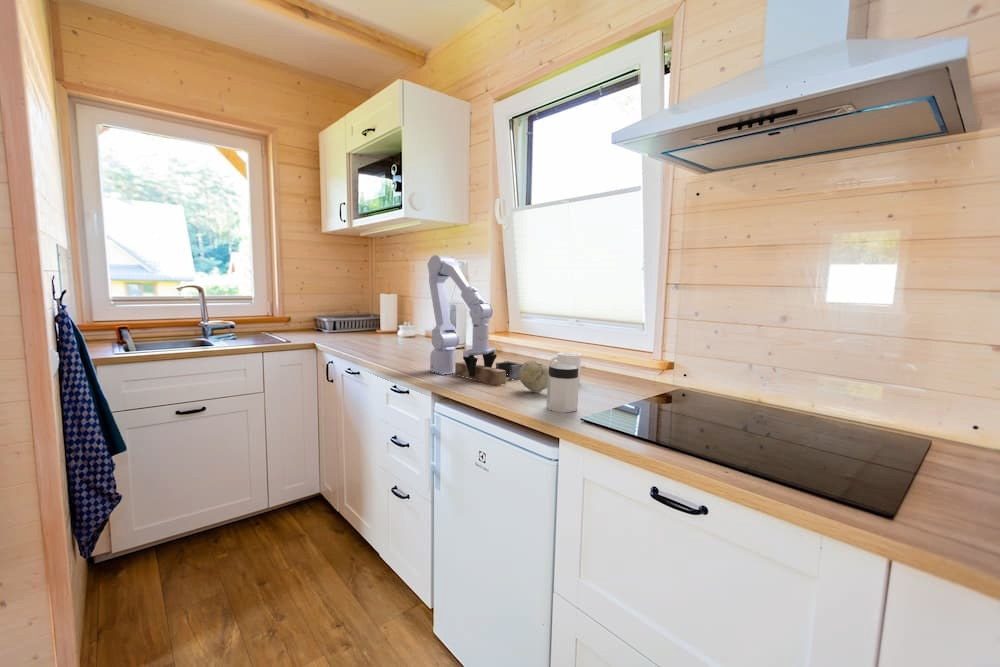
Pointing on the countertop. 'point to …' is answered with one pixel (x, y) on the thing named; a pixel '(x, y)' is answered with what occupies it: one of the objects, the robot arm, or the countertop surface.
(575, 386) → the jar
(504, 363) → the bracket
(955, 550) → the countertop surface
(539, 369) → the decorative item
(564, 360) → the mug
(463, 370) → the rail
